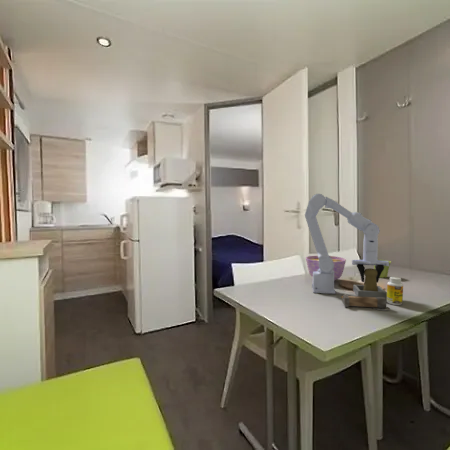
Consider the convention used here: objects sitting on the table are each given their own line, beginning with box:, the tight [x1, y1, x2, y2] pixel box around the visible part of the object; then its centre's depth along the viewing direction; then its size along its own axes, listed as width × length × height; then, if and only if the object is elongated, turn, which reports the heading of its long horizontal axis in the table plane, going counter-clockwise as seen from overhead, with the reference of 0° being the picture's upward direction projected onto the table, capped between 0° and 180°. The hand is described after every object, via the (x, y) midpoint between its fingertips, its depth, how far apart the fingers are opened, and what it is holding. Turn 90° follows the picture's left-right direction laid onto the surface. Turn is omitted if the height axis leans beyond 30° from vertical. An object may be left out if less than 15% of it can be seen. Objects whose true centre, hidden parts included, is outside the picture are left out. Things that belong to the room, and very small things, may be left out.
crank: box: [342, 294, 387, 309], centre depth 118 cm, size 15×5×3 cm, turn 78°
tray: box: [352, 284, 387, 299], centre depth 135 cm, size 11×11×3 cm
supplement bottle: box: [386, 276, 404, 306], centre depth 123 cm, size 6×6×10 cm
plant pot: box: [373, 259, 392, 279], centre depth 171 cm, size 9×9×9 cm
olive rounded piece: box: [363, 268, 378, 291], centre depth 134 cm, size 6×6×11 cm
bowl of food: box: [305, 255, 347, 281], centre depth 161 cm, size 20×20×12 cm
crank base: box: [371, 306, 391, 312], centre depth 117 cm, size 6×6×1 cm
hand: (369, 281), depth 135 cm, fingers open, 5 cm apart
